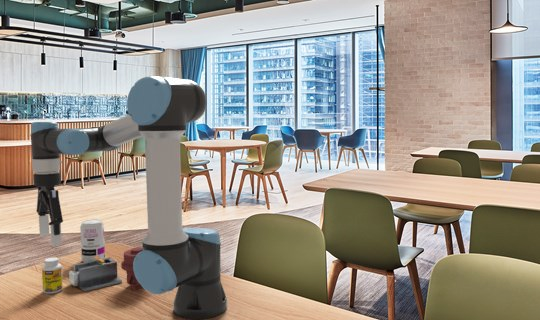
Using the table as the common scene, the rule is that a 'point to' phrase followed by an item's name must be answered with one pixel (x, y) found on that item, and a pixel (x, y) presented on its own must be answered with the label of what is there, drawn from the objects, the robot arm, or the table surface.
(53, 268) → the supplement bottle
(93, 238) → the supplement can
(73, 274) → the plunger
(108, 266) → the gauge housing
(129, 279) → the mechanical component
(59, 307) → the table surface
